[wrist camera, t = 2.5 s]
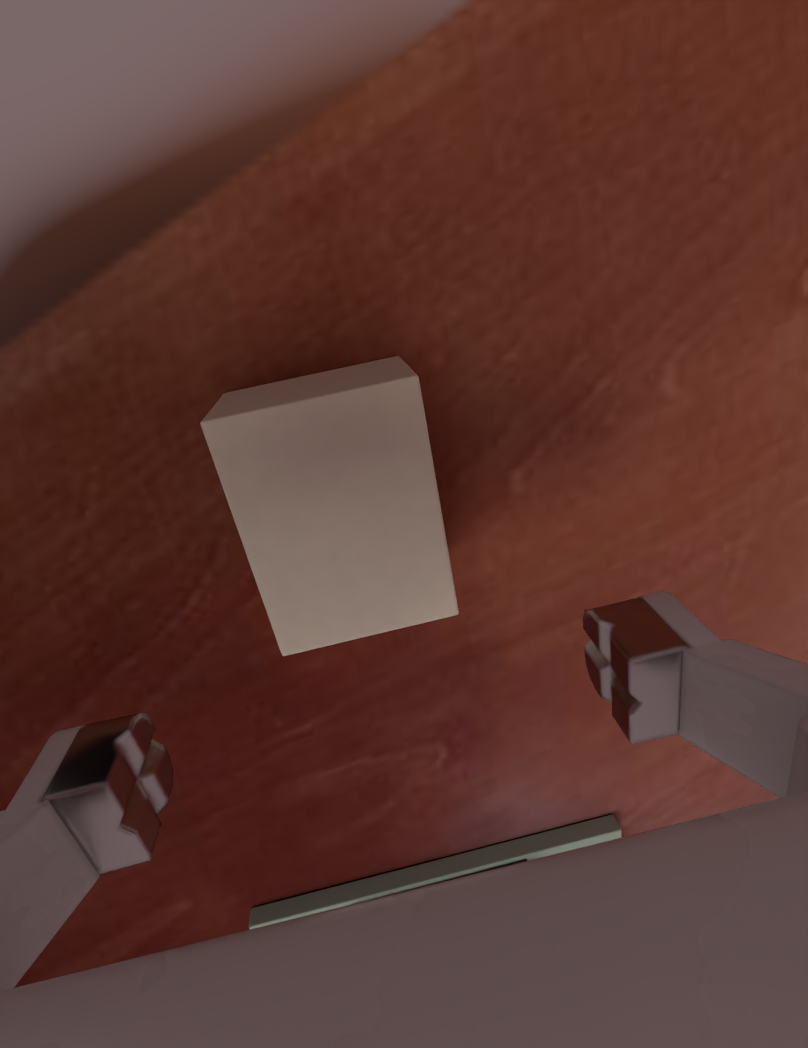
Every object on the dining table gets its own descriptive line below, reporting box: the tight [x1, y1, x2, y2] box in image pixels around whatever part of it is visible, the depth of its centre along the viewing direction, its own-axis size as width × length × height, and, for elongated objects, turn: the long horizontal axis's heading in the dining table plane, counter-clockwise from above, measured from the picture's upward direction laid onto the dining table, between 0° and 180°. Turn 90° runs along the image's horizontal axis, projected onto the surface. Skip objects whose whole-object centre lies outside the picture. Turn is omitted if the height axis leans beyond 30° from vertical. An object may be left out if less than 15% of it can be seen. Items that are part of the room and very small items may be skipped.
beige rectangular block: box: [200, 356, 459, 656], centre depth 18 cm, size 6×8×4 cm
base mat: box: [249, 815, 621, 930], centre depth 32 cm, size 20×16×3 cm
